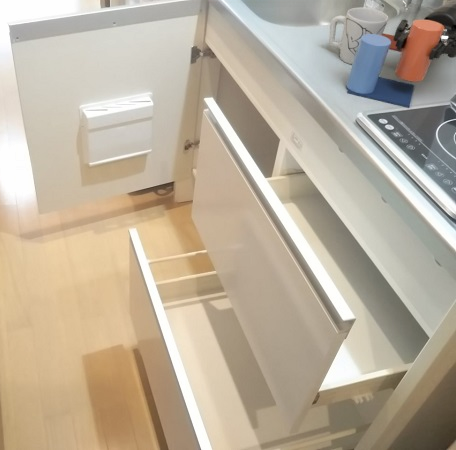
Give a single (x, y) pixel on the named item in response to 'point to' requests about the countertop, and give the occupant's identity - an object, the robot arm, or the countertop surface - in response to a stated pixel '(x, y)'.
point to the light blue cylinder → (368, 63)
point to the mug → (356, 29)
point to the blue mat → (390, 92)
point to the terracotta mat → (392, 42)
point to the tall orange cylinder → (418, 49)
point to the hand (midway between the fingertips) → (416, 49)
